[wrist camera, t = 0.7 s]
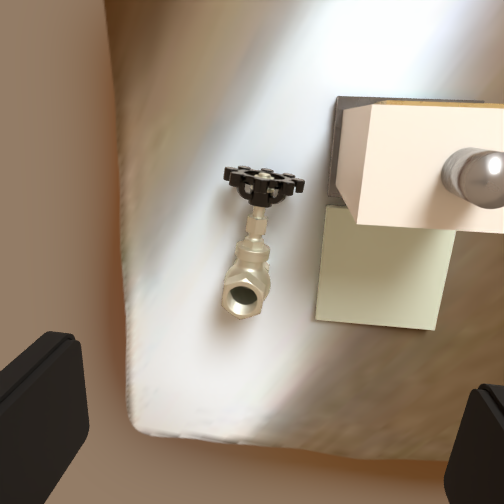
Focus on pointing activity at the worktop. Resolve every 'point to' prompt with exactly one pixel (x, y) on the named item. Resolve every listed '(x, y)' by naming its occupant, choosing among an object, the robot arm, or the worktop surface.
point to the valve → (254, 239)
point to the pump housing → (420, 162)
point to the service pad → (381, 272)
